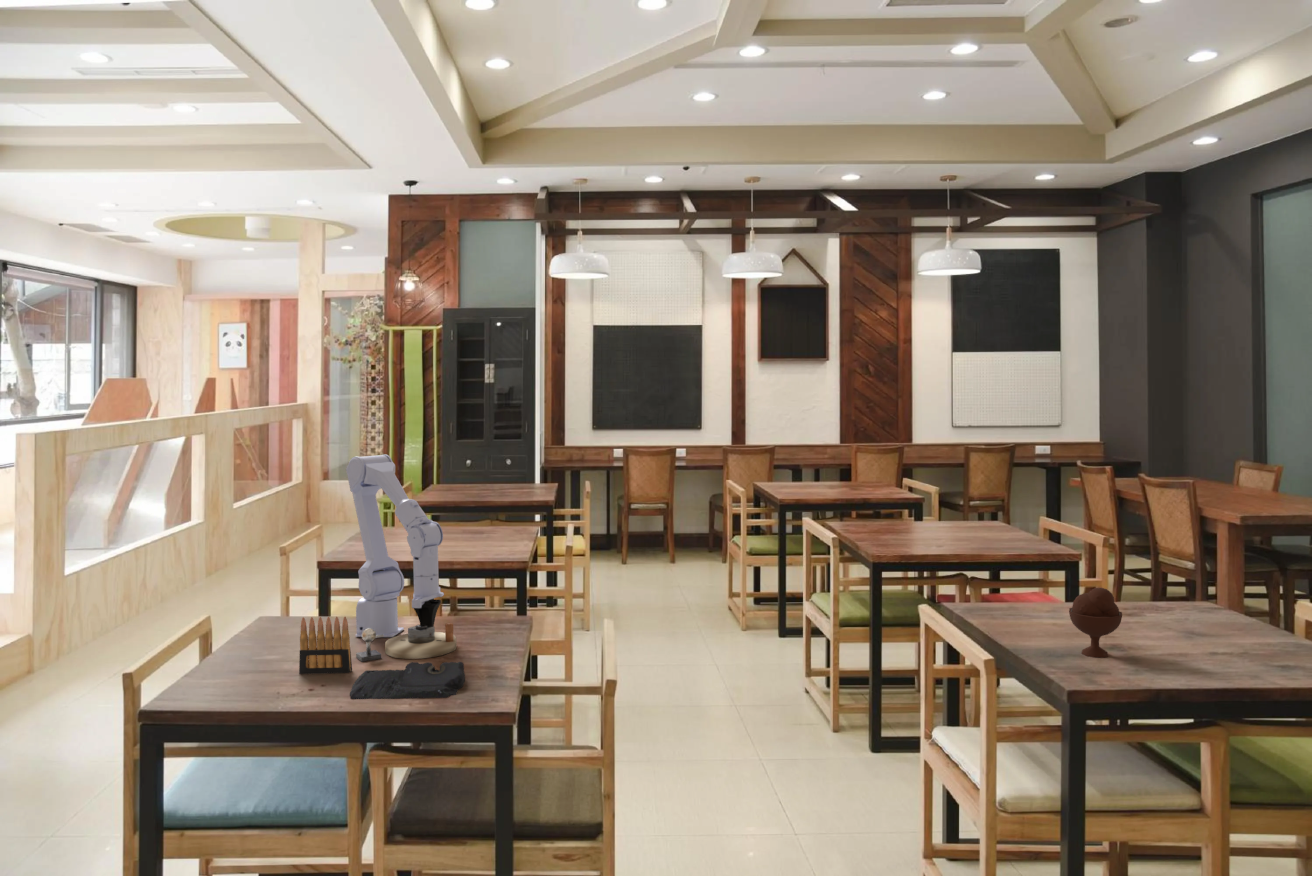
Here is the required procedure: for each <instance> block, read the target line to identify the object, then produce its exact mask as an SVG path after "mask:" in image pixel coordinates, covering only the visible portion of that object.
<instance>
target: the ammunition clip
mask: <svg viewBox="0 0 1312 876" xmlns="http://www.w3.org/2000/svg"><path fill="white" fill-rule="evenodd" d="M305 618H306V617H304V616H303V617H302V618H301V621H300V633H299V634H300V636H299V648H300V649H299V662H298V663H299V666H298V668H299V669H298V671H299V672H298V674H299V675H309V674H312V675H313V674H314V675H315V674H316V675H319V674H322V675H323V674H350V673H351V672H352V671H353V663H352V652H351V651H352V650H351V646H350V643H351V641H350V637H351V636H350V632H349V624H348V623H349V622H348V618H347V617H346V616H344V617H343V619H342V627H341V625H340V624H341V623H340V620H339V617H338V616H335V619H334V624H333V627H332V621H331V618H330V616H328V617H327V618H326V622H325V628H324V622H323V618H322V617H321V616H319V617H318V621H317V631H316V625H315V620H314V617H313V616H311V617H310V619H309V624H308V626H307V621H306V619H305ZM307 627H308V628H309V629H307ZM332 628H333V629H332ZM341 628H342V630H341ZM324 629H325V630H324ZM316 632H317V634H316Z"/></svg>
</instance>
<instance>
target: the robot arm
mask: <svg viewBox="0 0 1312 876" xmlns="http://www.w3.org/2000/svg"><path fill="white" fill-rule="evenodd" d="M345 471H346V476H347V481H348V485H349V490H350V492H351V493H352V497H353V498H352V499H353V503H354V507H355V511H356V517H357V523H358V527H359V532H360V537H361V541H362V545H363V552H364V556H365V562H364V563H363V564H362V566H361V567H360V568H359V569H358V571H357V572H358V590H359V592H360V595H361V596H362V597H361V598H359V599H358V601H357V603H356V607H355V620H356V622H355V623H356V625H355V626H356V627H355V628H356V633H355V638H356V637H357V638H359V637H360V638H362V633H363V631H364V630H365V629H367V628H371V629H373V630H374V631H375V632H376V635H380V634H383V635H384V637H383V638H393V637H396V635H398V634H399V633H401V632H402V631H404V629H405V628H404V627H403V626H402V627H399V624H398V623H399V619H398V617H399V616H398V613H399V612H398V597H400V594H401V592H402V591H403V589H404V587H405V577H404V575H403V572H402V571H401V569H400V565H399V563H398V561H396V560H395V559H393V558H391V557H390V556H389V554H388V548H387V544H386V540H385V534H384V528H383V525H382V524H383V523H382V519H381V513H380V510H379V505H378V501H377V493H378V491H379V490H382V491H383V492H384V494H385V495H386V496H387V497H388V498H389V500H390V501H391V502H392V504H393V505H394V506H395V511H394V514H395V516H396V517H397V519H398V520H399V523H400V524H401V525H402V526H403V528H404V529H405V531H406V533H407V536H406V541H407V544H408V546H409V550H410V554H411V556H412V559H413V560H412V563H413V594H412V597H413V598H412V599H411V608H412V609H414V611H415V613H416V615H417V618H418V622H419V625H420V624H425V625H431V626H434V627H435V621H436V617H437V613H438V610H439V607H440V606H441V603H442V600H441V599H438V598H442V597H443V596H445V593H444V592H442V591H441V590H442V589H441V586H439V585H440V584H439V583H440V582H439V581H440V580H439V578H440V577H439V546H440V545H441V544H442V543H443V539H444V532H443V529H442V527H441V525H440V523H439V522H437V521H433V519H429V518H428V516H427V515H426V513H425V511H424V510H423V509H422V507H421V506H420V505H419V502H418V501H417V500H416V499H411V498H409V497H408V495H407V493H406V492H405V489H404V488H403V486H402V485H401V482H400V481H399V479H398V478H397V477H398V476H397V475H396V464H395V463H394V462H393V460H392V458H391V456H390V455H388V454H383V453H382V454H381V455H378V454H377V455H365V456H364V455H363V456H358V455H356V456H353V457H351V458H350V460H349V462H348V464H347V466H346V469H345ZM436 598H437V599H436Z"/></svg>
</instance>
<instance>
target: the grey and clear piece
mask: <svg viewBox="0 0 1312 876" xmlns="http://www.w3.org/2000/svg"><path fill="white" fill-rule="evenodd" d="M361 638H362V640H363V641H364V642H365V646H366V647H365V648H366V650H365V651H360V652H355V658H357V660H358V661H360V662H361V663H362V662H370V661H376V660H381V659H382V653H381V652H379V651H378V650H376V649H371V647H372V646H371V643H372V642H373V641H374V640H375V639H377V638H385V637H384V635H383V634H380V635H376V632H375V631H374V630H373V629H371V628H367V629H365V630H364V631H363V633H362V637H361Z"/></svg>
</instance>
